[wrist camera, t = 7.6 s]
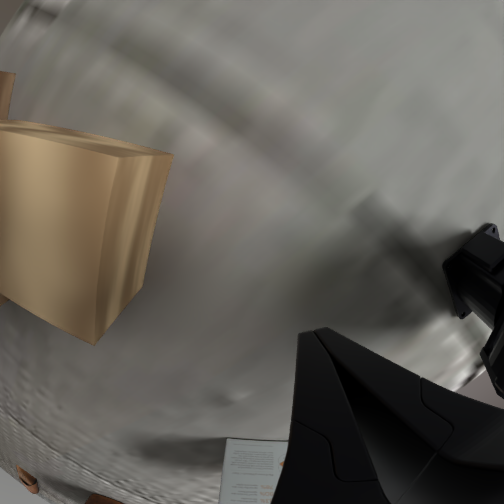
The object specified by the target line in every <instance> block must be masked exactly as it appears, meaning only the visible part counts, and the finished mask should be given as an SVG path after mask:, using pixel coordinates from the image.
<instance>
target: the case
mask: <svg viewBox="0 0 504 504" xmlns="http://www.w3.org/2000/svg"><path fill="white" fill-rule="evenodd" d="M85 504H123V503H121V502H118V501H116V500H113V499H111V498H108V497H105V496H101V495H97V494H92V495H91V496H90V497H89V498H88V500H87V501H86V502H85Z"/></svg>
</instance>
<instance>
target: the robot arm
mask: <svg viewBox="0 0 504 504" xmlns="http://www.w3.org/2000/svg"><path fill="white" fill-rule="evenodd" d="M492 228H493V230H492ZM448 265H450V266H449V268H448ZM443 270H444V273H445V276H446V279H447V282H448V286H449V289H450V292H451V295H452V299H453V302H454V305H455V309H456V313H457V316H458V317H459V318H460V319H464V318H465V317H466V316H468V315H469V314H470V313H471V312H472V311H473V312H474V313H475V314H476V315H477V316H478V317H479V318H480V319H481V320H482V321H483V322H484V323H486V324H487V325H488V326H489V327H490V328H491V329H492V330H493V331H492V333H491V335H490V337H489V339H488V341H487V343H486V344H485V346H484V347H483V348H482V350H481V352H480V356H481V358H482V360H483V363H484V365H485V367H486V369H487V372H488V374H489V376H490V379H491V381H492V384H493V386H494V388H495V390H496V393H497V395H499V396H500V397H502V398H503V399H504V242H503V241H501V240H500V238H499V233H498V229H497V226H496V225H495V224H493V223H491V224H489V225H488V226H487V227H486V228H485V229H483V230H482V231H481V232H480V233H478V234H477V235H476V236H475V237H474V238H473V239H471V240H470V241H469V242H468V243H467V244H465V245H464V246H463V247H462V248H461V249H460V250H458V251H457V252H456V253H455V254H453V255H452V256H451V257H450V258H448V259H447V260H446V261H445V262H444V264H443ZM270 504H504V409H501V408H498V407H495V406H492V405H488V404H486V403H483V402H480V401H477V400H474V399H471V398H468V397H466V396H463V395H461V394H458V393H455V392H453V391H450V390H448V389H446V388H444V387H442V386H439V385H437V384H435V383H433V382H431V381H429V380H427V379H425V378H423V377H422V378H421V379H420V376H419V375H417V374H415V373H413V372H411V371H409V370H407V369H405V368H403V367H401V366H399V365H397V364H395V363H394V362H392V361H390V360H388V359H386V358H384V357H382V356H380V355H378V354H376V353H374V352H373V351H371V350H369V349H367V348H365V347H363V346H361V345H359V344H358V343H356V342H354V341H352V340H350V339H348V338H346V337H345V336H343V335H341V334H339V333H337V332H335V331H333V330H332V329H330V328H328V327H323V328H319V329H315V330H314V331H306V332H302V333H299V334H298V342H297V357H296V371H295V383H294V395H293V406H292V416H291V424H290V434H289V440H288V446H287V452H286V456H285V460H284V463H283V467H282V470H281V474H280V477H279V480H278V483H277V486H276V489H275V491H274V494H273V497H272V500H271V503H270Z"/></svg>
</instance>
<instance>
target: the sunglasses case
mask: <svg viewBox="0 0 504 504" xmlns="http://www.w3.org/2000/svg"><path fill="white" fill-rule="evenodd" d="M16 466H17V471H18V474H19V479H20V480H21V482H22V483H23V484H24V486H25V487H26V488H27V489H28V490H29V491H30V492H31V493H33V494H37V493H38V492H39V488H38V483H37V480H36V478H34V477H33V476H31V475H30V474H29V473H27V472H26V471H24V470H23V469H22V468H20V467H19V466H18V465H16Z"/></svg>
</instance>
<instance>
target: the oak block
mask: <svg viewBox="0 0 504 504" xmlns="http://www.w3.org/2000/svg"><path fill="white" fill-rule="evenodd" d="M173 157H174V155H173V154H169V153H166V152H162V151H159V150H155V149H151V148H147V147H144V146H140V145H136V144H132V143H128V142H124V141H120V140H116V139H111V138H107V137H103V136H98V135H94V134H89V133H85V132H80V131H75V130H70V129H65V128H60V127H55V126H50V125H44V124H39V123H33V122H27V121H21V120H0V293H1V294H2V295H4V296H5V297H7V298H9V299H10V300H12V301H13V302H15V303H16V304H18V305H20V306H21V307H23V308H24V309H26V310H28V311H29V312H31V313H33V314H34V315H36V316H38V317H40V318H41V319H43V320H45V321H47V322H48V323H50V324H52V325H54V326H56V327H58V328H60V329H61V330H63V331H65V332H67V333H69V334H71V335H73V336H75V337H77V338H79V339H81V340H83V341H85V342H87V343H89V344H91V345H93V346H95V345H96V343H97V342H98V341H99V339H100V338H101V337H102V336H103V334H104V333H105V332H106V331H107V329H108V328H109V327H110V326H111V324H112V323H113V322H114V321H115V319H116V318H117V317H118V316H119V314H120V313H121V312H122V311H123V309H124V308H125V307H126V306H127V305H128V303H129V302H130V301H131V300H132V299H133V297H134V296H135V295H136V294H137V293H138V291H139V290H140V289H141V288H142V287H143V281H144V276H145V271H146V265H147V260H148V256H149V251H150V246H151V241H152V237H153V233H154V228H155V224H156V220H157V216H158V211H159V207H160V204H161V200H162V196H163V192H164V188H165V185H166V181H167V177H168V174H169V170H170V167H171V163H172V160H173Z"/></svg>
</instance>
